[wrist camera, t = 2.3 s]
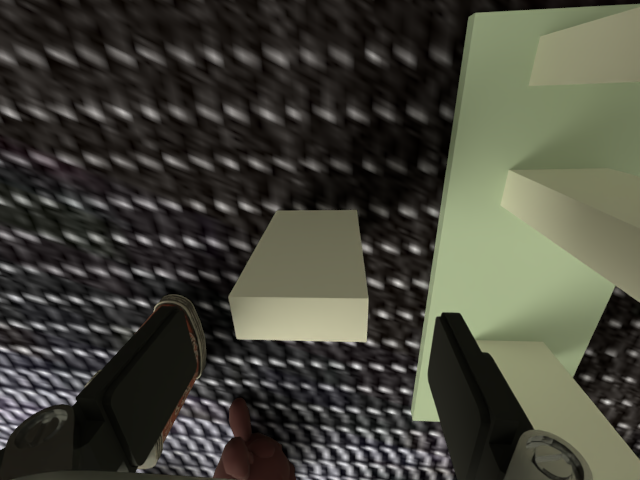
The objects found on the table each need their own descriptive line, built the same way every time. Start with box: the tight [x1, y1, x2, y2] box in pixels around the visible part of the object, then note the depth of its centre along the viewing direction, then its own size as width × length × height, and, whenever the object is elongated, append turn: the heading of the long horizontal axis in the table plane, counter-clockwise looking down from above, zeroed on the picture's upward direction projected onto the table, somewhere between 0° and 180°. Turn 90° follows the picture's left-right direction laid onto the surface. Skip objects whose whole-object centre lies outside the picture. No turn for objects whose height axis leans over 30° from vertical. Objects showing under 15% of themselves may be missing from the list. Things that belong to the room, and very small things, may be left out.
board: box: [411, 4, 640, 422], centre depth 19 cm, size 28×11×1 cm, turn 2°
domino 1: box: [228, 210, 368, 342], centre depth 15 cm, size 2×5×9 cm, turn 92°
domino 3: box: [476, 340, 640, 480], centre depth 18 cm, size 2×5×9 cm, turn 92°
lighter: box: [85, 294, 206, 469], centre depth 20 cm, size 8×3×10 cm, turn 179°
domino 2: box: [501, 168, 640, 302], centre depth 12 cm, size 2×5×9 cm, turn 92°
